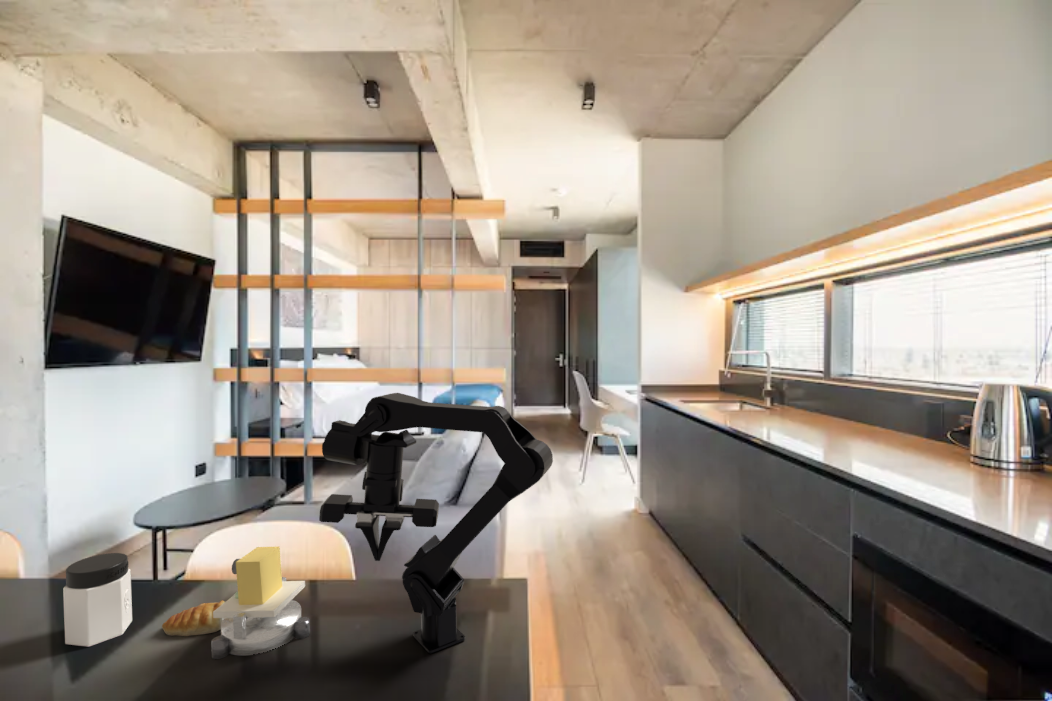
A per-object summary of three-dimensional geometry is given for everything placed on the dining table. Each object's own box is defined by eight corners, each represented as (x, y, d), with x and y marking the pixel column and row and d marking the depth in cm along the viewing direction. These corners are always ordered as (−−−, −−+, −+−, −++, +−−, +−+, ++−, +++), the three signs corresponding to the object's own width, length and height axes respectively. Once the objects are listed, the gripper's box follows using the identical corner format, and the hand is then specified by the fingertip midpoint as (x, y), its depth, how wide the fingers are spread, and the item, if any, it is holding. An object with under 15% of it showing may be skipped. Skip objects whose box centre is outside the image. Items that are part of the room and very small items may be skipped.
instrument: (306, 588, 93) (302, 540, 93) (273, 620, 83) (269, 567, 83) (251, 589, 94) (248, 542, 94) (212, 622, 84) (208, 569, 83)
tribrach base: (327, 612, 95) (327, 576, 95) (286, 661, 81) (285, 619, 81) (252, 610, 96) (251, 575, 96) (199, 658, 82) (198, 617, 82)
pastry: (157, 644, 86) (156, 621, 86) (170, 623, 93) (169, 601, 93) (222, 633, 89) (221, 610, 89) (230, 613, 96) (229, 592, 96)
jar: (119, 642, 87) (116, 569, 86) (57, 652, 84) (54, 578, 83) (138, 614, 95) (135, 548, 95) (82, 623, 92) (79, 555, 92)
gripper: (443, 459, 97) (437, 541, 98) (339, 452, 95) (334, 537, 96) (439, 478, 86) (432, 570, 87) (321, 471, 84) (315, 566, 85)
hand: (377, 559), depth 89 cm, fingers closed
